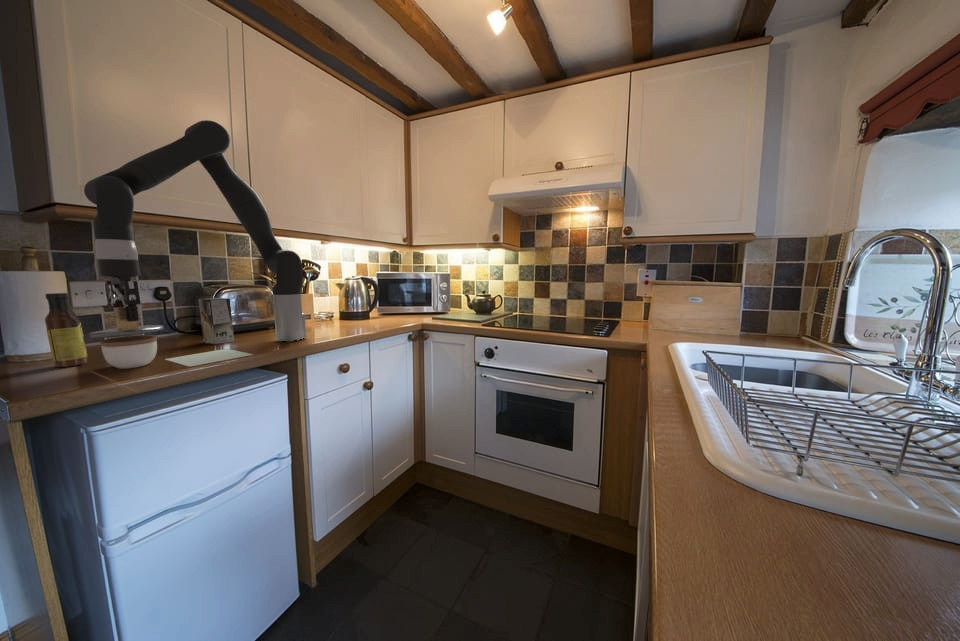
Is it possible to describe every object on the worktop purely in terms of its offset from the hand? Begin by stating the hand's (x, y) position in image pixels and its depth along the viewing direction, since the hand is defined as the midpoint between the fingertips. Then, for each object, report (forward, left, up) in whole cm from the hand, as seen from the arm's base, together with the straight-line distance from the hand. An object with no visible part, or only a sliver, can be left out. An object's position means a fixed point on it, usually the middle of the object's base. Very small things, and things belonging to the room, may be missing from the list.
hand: (126, 320), depth 93 cm
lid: (0, 0, -3) cm, 3 cm away
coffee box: (-28, -18, -13) cm, 36 cm away
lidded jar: (0, 0, -13) cm, 13 cm away
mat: (-15, +7, -13) cm, 21 cm away
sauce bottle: (+8, -17, -13) cm, 23 cm away
